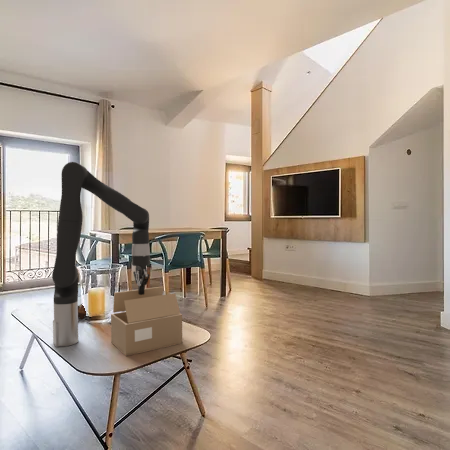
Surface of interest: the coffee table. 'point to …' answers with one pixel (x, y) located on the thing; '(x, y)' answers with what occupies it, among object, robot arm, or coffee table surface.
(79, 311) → the decorative turtle
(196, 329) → the coffee table surface
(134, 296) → the far flap
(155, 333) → the carton
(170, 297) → the near flap
